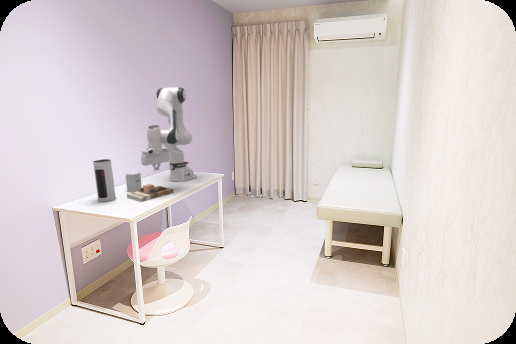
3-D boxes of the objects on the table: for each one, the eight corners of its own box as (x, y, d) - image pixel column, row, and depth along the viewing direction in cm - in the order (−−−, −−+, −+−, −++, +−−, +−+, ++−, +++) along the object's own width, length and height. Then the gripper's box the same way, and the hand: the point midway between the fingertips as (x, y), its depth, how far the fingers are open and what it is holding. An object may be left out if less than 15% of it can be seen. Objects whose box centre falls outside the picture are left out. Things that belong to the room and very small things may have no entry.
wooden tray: (159, 189, 233) (158, 182, 232) (173, 192, 224) (172, 185, 222) (127, 197, 214) (126, 190, 213) (141, 201, 204) (140, 194, 203)
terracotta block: (150, 190, 221) (149, 183, 220) (154, 191, 218) (154, 185, 217) (143, 192, 217) (143, 185, 216) (148, 193, 214) (147, 186, 213)
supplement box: (136, 192, 227) (134, 174, 224) (127, 191, 228) (125, 174, 226) (142, 189, 234) (140, 172, 231) (132, 188, 235) (131, 171, 233)
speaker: (94, 201, 207) (89, 161, 201) (106, 196, 217) (101, 158, 211) (107, 202, 204) (102, 161, 198) (119, 197, 213) (115, 158, 208)
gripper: (165, 147, 227) (166, 167, 230) (139, 151, 211) (140, 172, 214) (170, 148, 223) (172, 168, 226) (144, 151, 207) (146, 173, 210)
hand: (156, 170), depth 220 cm, fingers closed
